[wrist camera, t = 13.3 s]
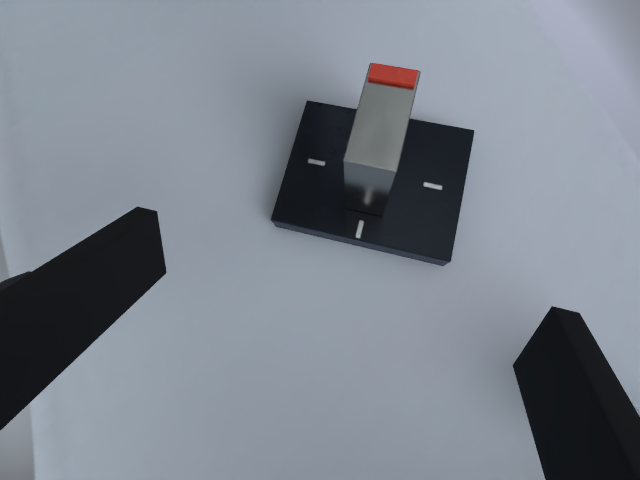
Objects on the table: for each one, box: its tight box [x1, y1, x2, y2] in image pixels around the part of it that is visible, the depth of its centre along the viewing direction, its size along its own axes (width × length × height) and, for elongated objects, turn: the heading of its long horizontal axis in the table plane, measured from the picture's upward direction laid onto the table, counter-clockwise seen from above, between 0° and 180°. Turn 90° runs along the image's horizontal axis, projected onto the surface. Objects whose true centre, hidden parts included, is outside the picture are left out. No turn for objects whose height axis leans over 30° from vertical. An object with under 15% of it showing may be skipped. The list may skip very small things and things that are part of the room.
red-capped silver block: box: [343, 63, 420, 216], centre depth 23 cm, size 6×3×8 cm, turn 165°
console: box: [271, 101, 474, 266], centre depth 28 cm, size 14×11×2 cm
